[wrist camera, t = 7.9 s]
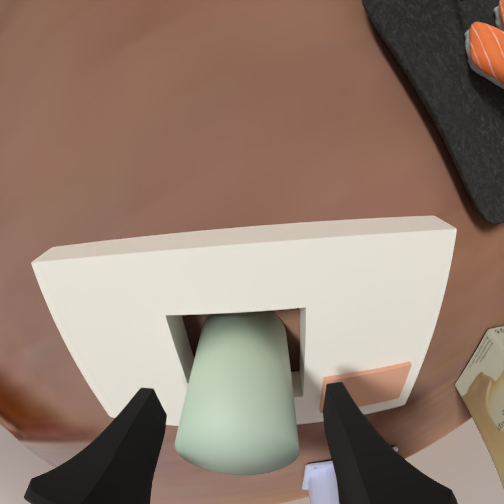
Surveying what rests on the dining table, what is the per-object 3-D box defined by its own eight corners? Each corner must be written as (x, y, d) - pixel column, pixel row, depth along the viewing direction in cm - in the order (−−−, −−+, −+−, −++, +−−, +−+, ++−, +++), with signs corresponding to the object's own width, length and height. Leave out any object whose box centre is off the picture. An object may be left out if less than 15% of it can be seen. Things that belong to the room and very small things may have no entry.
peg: (287, 301, 14) (304, 423, 7) (285, 365, 16) (294, 473, 9) (195, 303, 14) (159, 420, 8) (207, 366, 16) (189, 471, 9)
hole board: (434, 215, 12) (460, 231, 10) (395, 384, 17) (406, 408, 15) (52, 247, 13) (27, 265, 11) (118, 396, 18) (108, 419, 15)
